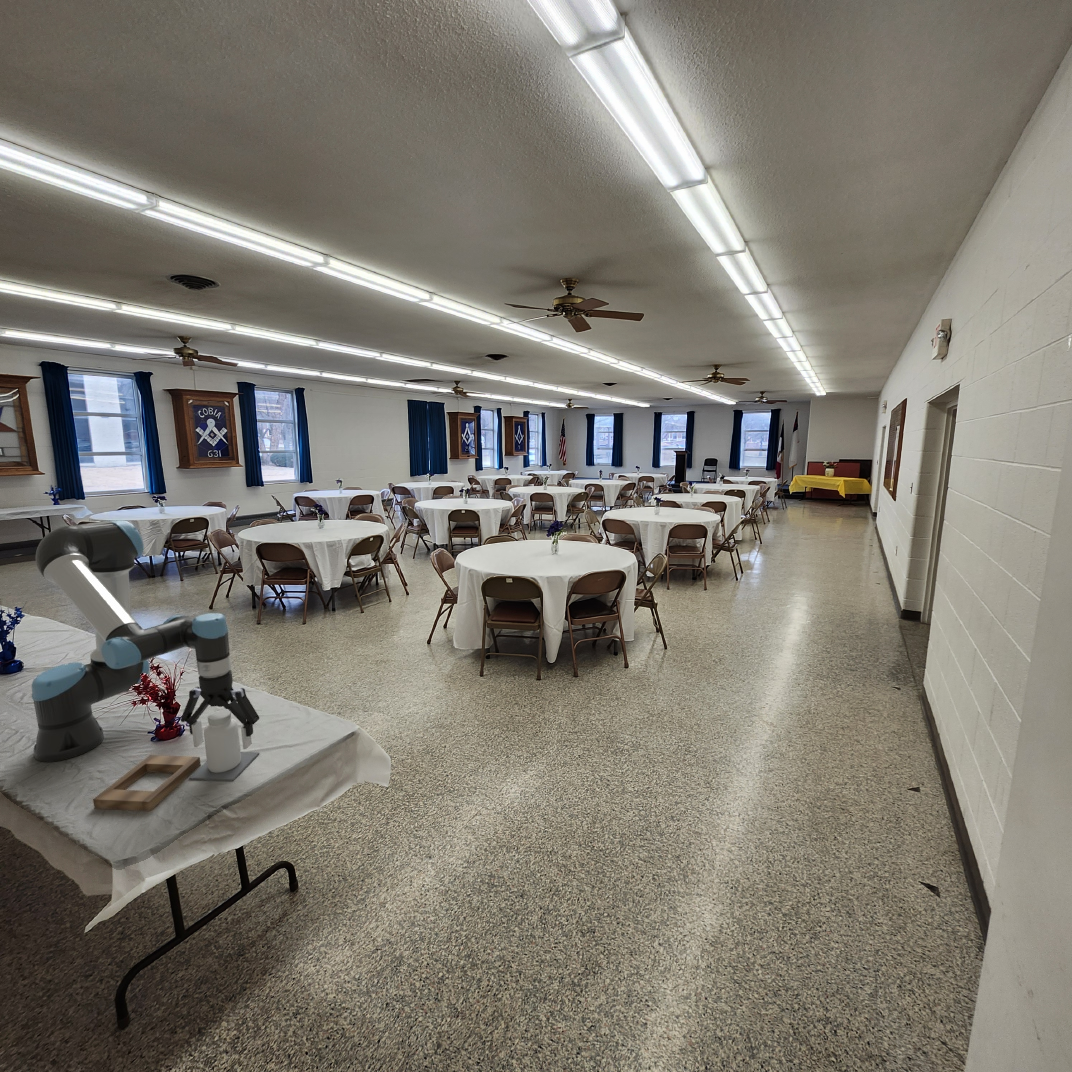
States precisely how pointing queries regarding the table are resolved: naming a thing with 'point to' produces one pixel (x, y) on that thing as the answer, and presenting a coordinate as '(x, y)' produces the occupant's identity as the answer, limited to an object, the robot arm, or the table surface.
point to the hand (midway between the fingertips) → (223, 745)
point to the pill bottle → (222, 742)
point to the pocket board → (146, 800)
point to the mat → (229, 775)
